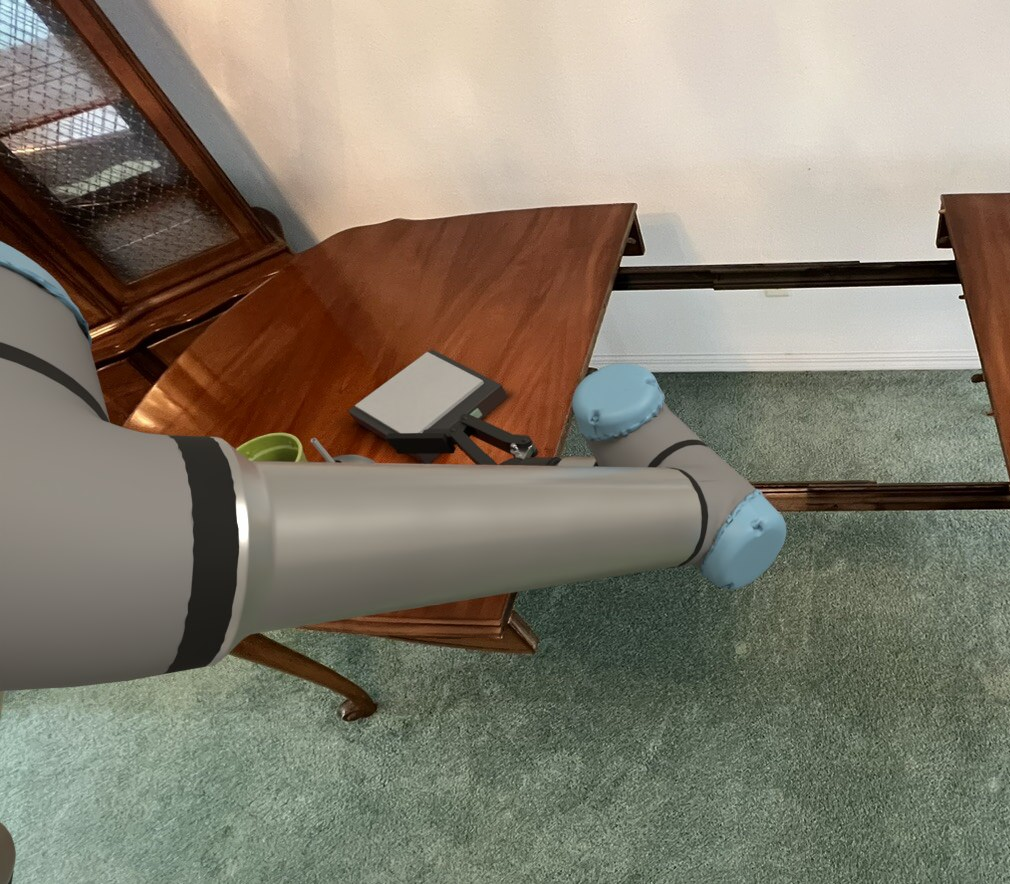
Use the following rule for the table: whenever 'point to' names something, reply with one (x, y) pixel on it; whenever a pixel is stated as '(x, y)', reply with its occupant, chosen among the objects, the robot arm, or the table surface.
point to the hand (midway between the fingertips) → (365, 493)
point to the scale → (427, 399)
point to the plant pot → (273, 448)
